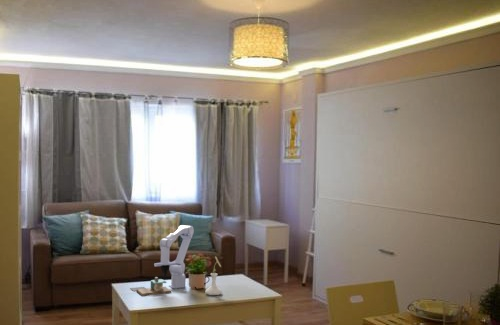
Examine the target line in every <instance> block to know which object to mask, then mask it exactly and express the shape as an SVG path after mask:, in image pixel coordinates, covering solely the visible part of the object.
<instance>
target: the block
mask: <svg viewBox="0 0 500 325" xmlns="http://www.w3.org/2000/svg"><path fill="white" fill-rule="evenodd" d="M163 285H164V283H159V284H154V290H155V291H161V290H163V287H164V286H163Z"/></svg>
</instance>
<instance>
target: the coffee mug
mask: <svg viewBox="0 0 500 325" xmlns="http://www.w3.org/2000/svg"><path fill="white" fill-rule="evenodd" d="M206 274H207V273H206ZM206 274H205V279H206V278H208V280H207V281H205V283H204V285H206V284H207V283H208V282H210V276H208V275H207V276H206Z"/></svg>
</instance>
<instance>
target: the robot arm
mask: <svg viewBox="0 0 500 325" xmlns="http://www.w3.org/2000/svg"><path fill="white" fill-rule="evenodd" d="M194 232H195V230H194V227H193V225H184V224H181V225H179V226H178V228H177V230H175V231H174V232H173V233H172V232H170V233H169V234H168V235H167V236H165V238H161V239H160V240H159V243H158V244H159V248H160V262H156V263H155V262H154V264H153V265H154V266H153V267H160V270H161V273H162V277H164V278H165V277H167V274H168V271H169V273H170V275H171V284H169V286H168V287H170V288H172V289H181V288H186V278H187V277H186V274H185V270H186V269H185V268H186V264H185V262H184V261H185V257H186V255H187V252H188V249H189V246H190V244H191V243H190V242H191V241H192V240H191V239H193V235H194ZM179 236H180V238H182V242H181V244H180V247H179V250H178V252H177V256H176V259H175V260H173V261H170V254H171V253H170V249H171V247H172V244H173V243H174V242H176V241H177V239H178V237H179Z"/></svg>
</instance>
